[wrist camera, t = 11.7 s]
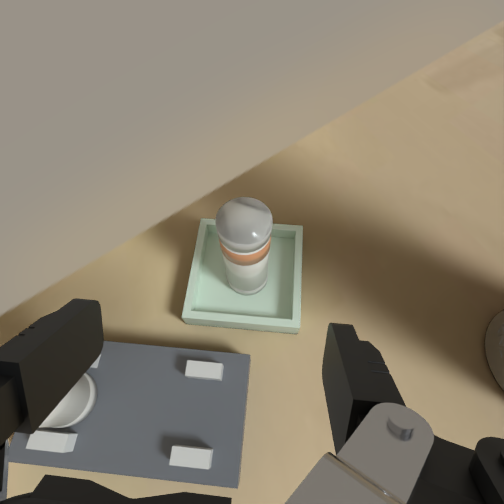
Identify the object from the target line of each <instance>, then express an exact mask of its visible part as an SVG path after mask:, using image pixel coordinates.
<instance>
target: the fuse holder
mask: <svg viewBox="0 0 504 504" xmlns="http://www.w3.org/2000/svg"><path fill="white" fill-rule="evenodd" d="M250 361H251V360H250V355H247V354H237V353H226V352H216V351H205V350H195V349H184V348H174V347H164V346H153V345H143V344H132V343H122V342H111V341H104V343H103V348H102V351H101V354H100V355H99V357H98V358H97V360H96V361H95V362H94V363H93V364H92V365H91V367H90V368H89V369H88V370H87V371H86V372H87V373H88V374H90V375H91V376H92V377H93V378H94V380H95V382H96V385H97V390H98V394H97V400H96V403H95V406H94V408H93V409H92V411H91V413H90V414H89V415H88V416H87V417H86V418H85V419H84V420H83V421H82V422H80V423H78V424H77V425H74V426H71V427H65V428H52V427H42V428H38V429H37V430H36V431H35V432H34V433H33V434H26V433H17V432H15V433H14V436H13V439H12V441H11V444H10V447H9V462H15V463H23V464H32V465H40V466H49V467H58V468H66V469H75V470H83V471H92V472H100V473H109V474H117V475H126V476H135V477H143V478H152V479H160V480H169V481H177V482H186V483H195V484H203V485H212V486H220V487H229V488H237V489H238V485H239V480H240V469H241V458H242V447H243V437H244V426H245V415H246V404H247V393H248V382H249V372H250Z"/></svg>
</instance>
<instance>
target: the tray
mask: <svg viewBox="0 0 504 504" xmlns="http://www.w3.org/2000/svg"><path fill="white" fill-rule="evenodd" d="M215 220H216V219H206V218H201V220H200V226H199V231H198V236H197V241H196V246H195V251H194V256H193V262H192V267H191V272H190V277H189V282H188V287H187V292H186V298H185V303H184V308H183V313H182V319H183V320H184V321H185V323H186V324H191V325H202V326H213V327H224V328H235V329H246V330H257V331H268V332H279V333H289V334H297V333H298V331H299V329H300V311H301V276H302V241H303V226H300V225H286V224H273V223H272V233H271V244H270V251H269V264H268V281H267V283H266V285H265V287H264V288H263V289H262V290H261V291H260V292H258V293H257V294H254V295H249V296H245V295H240V294H238V293H236V292H234V291H233V290H232V289H231V288H230V286H229V284H228V282H227V277H226V269H225V265H224V260H223V255H222V251H221V247H220V242H219V237H218V234H217V229H216V224H215Z"/></svg>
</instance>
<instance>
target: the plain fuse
mask: <svg viewBox="0 0 504 504" xmlns="http://www.w3.org/2000/svg"><path fill="white" fill-rule="evenodd" d="M97 394H98V390H97V385H96V382H95V380H94V378H93V377H92V376H91V375H90V374H88V373H87V372H85V374H84V375H83V376H82V377H81V378H80V379H79V381H78V382H77V383H76V384H75V385H74V387H73V388H72V389H71V390H70V391H69V392H68V394H67V395H66V396H65V397H64V398H63V399H62V401H61V402H60V403H59V404H58V405H57V406H56V408H55V409H54V410H53V411H52V412H51V413H50V415H49V416H48V417H47V418H46V419H45V421H44V422H43V423H42V424H41V425H40V426H39V428H42V427H52V428H65V427H71V426H74V425H77V424H78V423H80V422H82V421H83V420H84V419H85V418H86V417H87V416H88V415H89V414H90V413H91V411H92V409H93V408H94V406H95V403H96V400H97Z"/></svg>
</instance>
